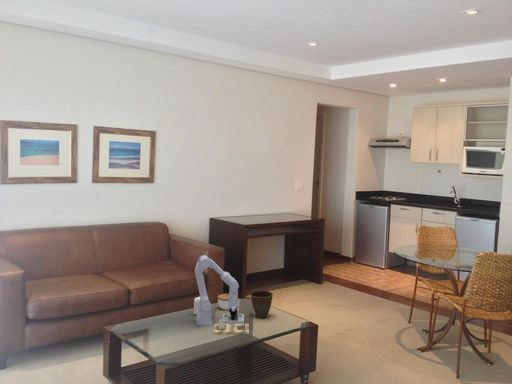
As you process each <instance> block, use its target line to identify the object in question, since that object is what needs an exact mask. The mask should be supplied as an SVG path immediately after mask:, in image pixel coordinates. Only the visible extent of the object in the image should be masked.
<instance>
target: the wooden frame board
mask: <svg viewBox="0 0 512 384" xmlns="http://www.w3.org/2000/svg"><path fill="white" fill-rule="evenodd" d="M237 328H245V329H237ZM212 334H213V335H250V324H249V323H244V324H225V330H219V323H214V325H213V331H212Z"/></svg>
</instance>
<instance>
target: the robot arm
mask: <svg viewBox="0 0 512 384" xmlns="http://www.w3.org/2000/svg"><path fill="white" fill-rule="evenodd" d="M196 261H197V262H196V265H195V268H194V273H195V278H196V284H197V289H198V291H199V297H200V305H201V308H200V310H197V315H196V320H195V321H196V326H203V325H204V326H206V325H207V326H209V325H210V326H211V325H212V324H213V323H212V322H213V320H212V304H211V302H210V300H209V297H208V292H207V287H206V283H205V278H204V274H203V272H204V271H205V270H206V269H207V268H209V269H213V270H214V271H215V272H216V273H218V275H220V279H221V280H222V281H223V282H224V284H226V285H227V286H228V287H229V288H228V289H229V291H228V294H229V307H230V309H229V310H228V313H229V312H230V315H231V320H235V317H236V313H237V311H238V307H240V304H239V303H238V302H239V300H238V299H239V288H240V285H239V282H238V281H237V280H236V279H235V277H233V276H232V275H231V274H230V272H228V271H224V270H223V269H222V268H221V267H220V266H219V265H218V264H217V263H216V262H215V261H214V260H213V259H212V258H210V257H208V256H207V255H205V254H203V255H200V256H199V257H198V258H197V260H196ZM238 312H239V311H238Z"/></svg>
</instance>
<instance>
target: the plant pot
mask: <svg viewBox="0 0 512 384" xmlns="http://www.w3.org/2000/svg"><path fill="white" fill-rule="evenodd" d="M273 296H274V295H273V292H270V291H267V290H256V291H253V292H251V293H250V301H251V304H252V310H253V312H254V315H255V317H256V318H258V319H267V318H268V315H269V313H270V310H271V306H272V300H273Z"/></svg>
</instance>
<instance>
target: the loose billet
mask: <svg viewBox="0 0 512 384" xmlns="http://www.w3.org/2000/svg"><path fill="white" fill-rule="evenodd" d="M228 314H229V321H238V314H239V311H237V313H236V317H235V320H231V315H230V312H229V311H228Z"/></svg>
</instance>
